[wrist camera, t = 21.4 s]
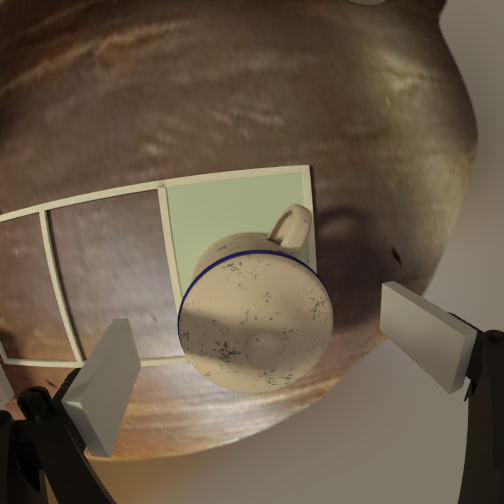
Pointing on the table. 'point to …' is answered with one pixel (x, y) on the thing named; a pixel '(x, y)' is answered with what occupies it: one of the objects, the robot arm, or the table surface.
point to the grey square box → (5, 389)
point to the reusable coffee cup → (367, 2)
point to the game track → (193, 227)
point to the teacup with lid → (256, 309)
